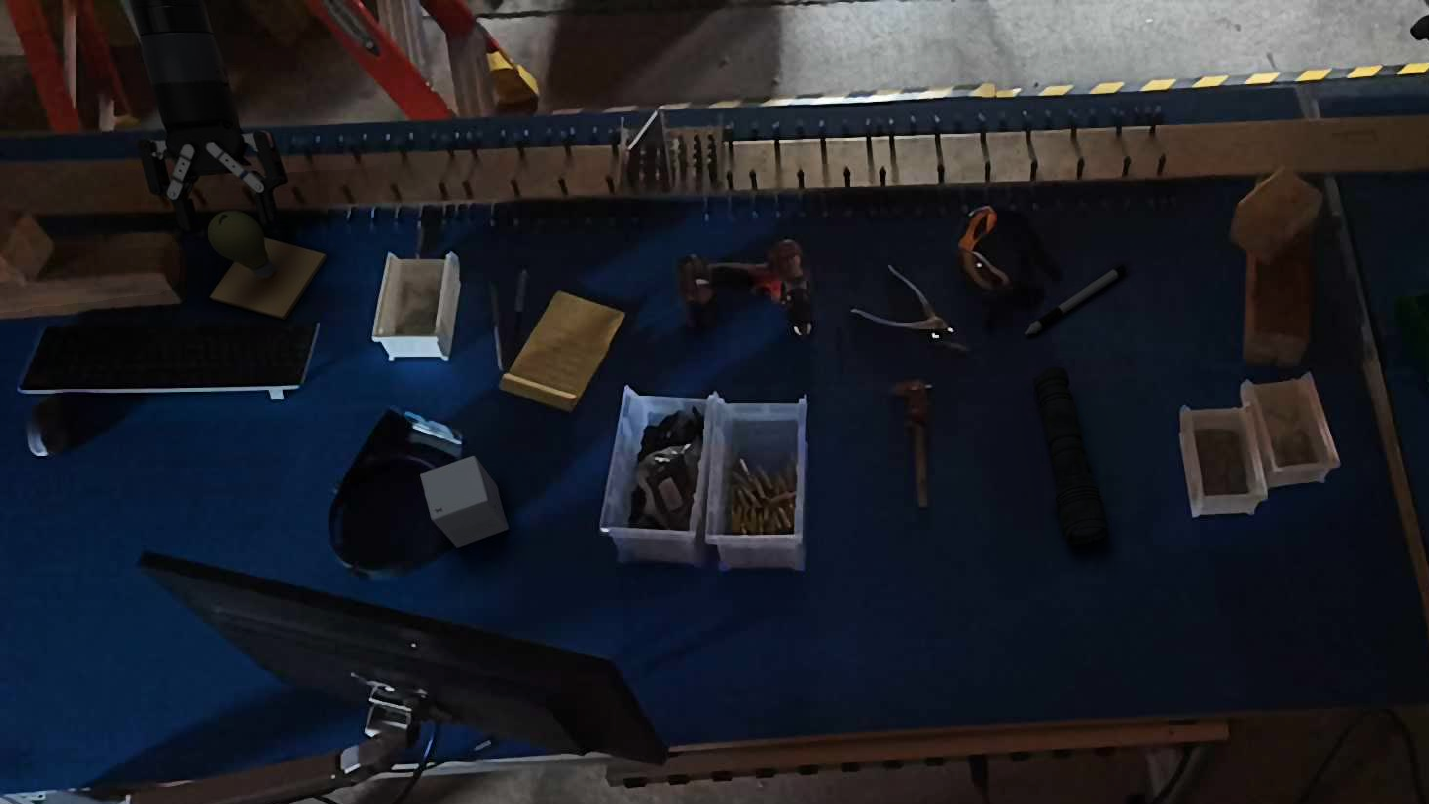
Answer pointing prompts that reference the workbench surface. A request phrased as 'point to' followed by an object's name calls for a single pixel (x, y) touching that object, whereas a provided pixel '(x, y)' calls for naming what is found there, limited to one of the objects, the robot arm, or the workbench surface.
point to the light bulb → (240, 241)
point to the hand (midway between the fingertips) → (231, 229)
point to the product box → (464, 501)
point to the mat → (271, 280)
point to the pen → (1076, 300)
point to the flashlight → (1069, 461)
